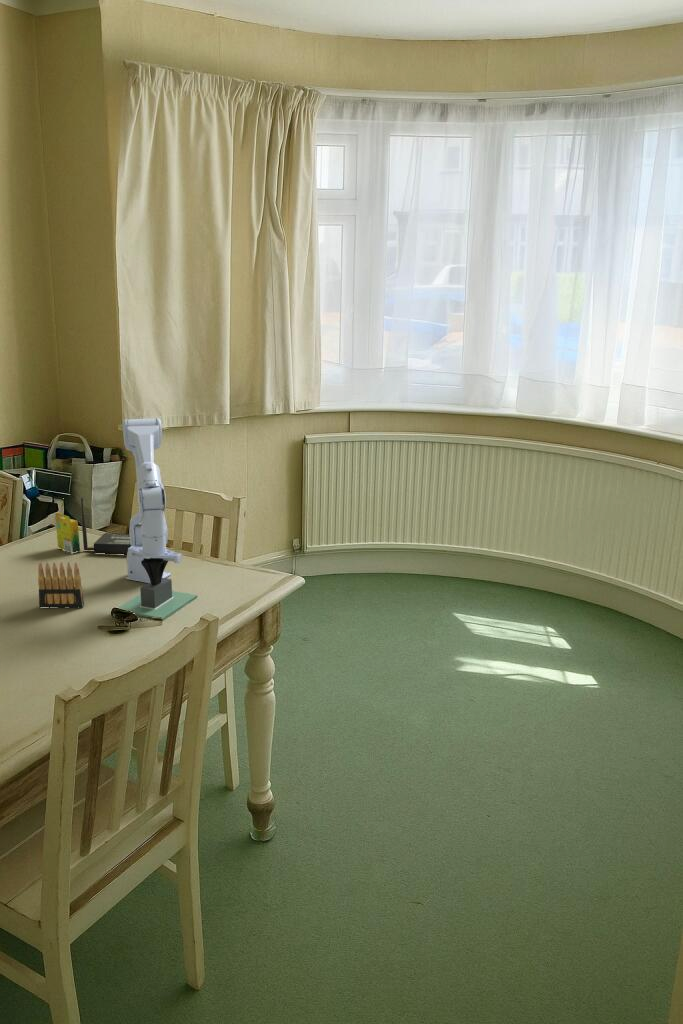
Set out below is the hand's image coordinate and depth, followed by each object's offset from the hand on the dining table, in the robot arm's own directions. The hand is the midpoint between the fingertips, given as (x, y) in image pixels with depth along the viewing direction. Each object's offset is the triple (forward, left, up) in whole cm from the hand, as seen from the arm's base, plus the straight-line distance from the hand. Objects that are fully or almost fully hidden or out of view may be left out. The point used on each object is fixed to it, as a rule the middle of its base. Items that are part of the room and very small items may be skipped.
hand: (156, 585), depth 216 cm
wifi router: (-34, +31, -6) cm, 46 cm away
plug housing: (0, 0, -5) cm, 5 cm away
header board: (0, 0, -5) cm, 5 cm away
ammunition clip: (-21, -11, -5) cm, 24 cm away
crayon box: (-47, +24, -5) cm, 53 cm away
